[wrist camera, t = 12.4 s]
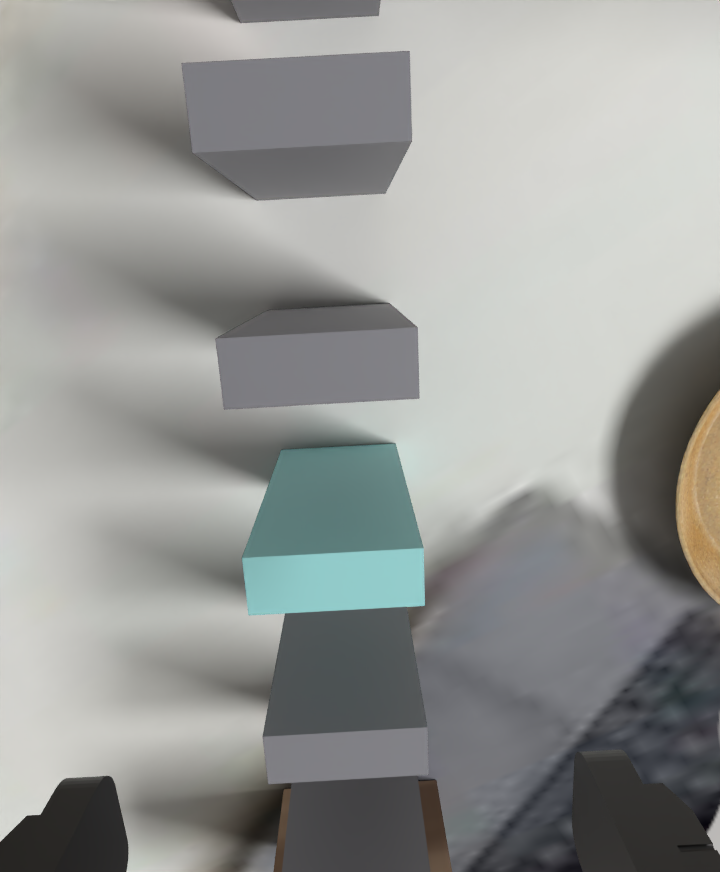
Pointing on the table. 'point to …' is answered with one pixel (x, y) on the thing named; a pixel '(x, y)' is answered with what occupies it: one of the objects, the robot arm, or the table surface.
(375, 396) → the domino
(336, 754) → the domino
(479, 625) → the table surface
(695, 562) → the plant saucer
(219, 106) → the domino
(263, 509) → the domino
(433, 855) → the end block
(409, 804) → the domino
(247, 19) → the domino
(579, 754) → the robot arm
